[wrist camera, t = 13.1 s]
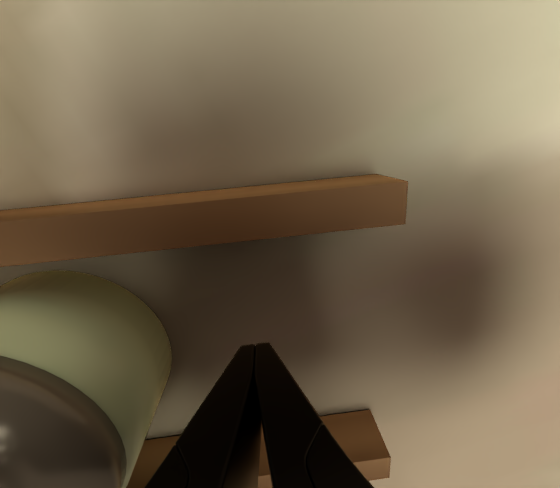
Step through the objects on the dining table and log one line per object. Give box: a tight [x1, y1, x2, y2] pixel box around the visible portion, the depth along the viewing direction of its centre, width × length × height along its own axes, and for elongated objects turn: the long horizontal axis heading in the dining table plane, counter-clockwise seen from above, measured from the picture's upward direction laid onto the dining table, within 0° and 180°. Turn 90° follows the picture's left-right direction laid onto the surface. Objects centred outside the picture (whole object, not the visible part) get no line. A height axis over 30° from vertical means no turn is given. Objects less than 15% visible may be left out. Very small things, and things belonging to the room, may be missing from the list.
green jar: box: [0, 270, 172, 488], centre depth 7 cm, size 6×6×4 cm
